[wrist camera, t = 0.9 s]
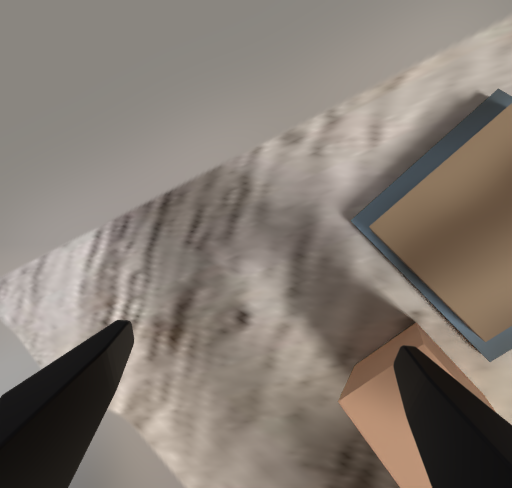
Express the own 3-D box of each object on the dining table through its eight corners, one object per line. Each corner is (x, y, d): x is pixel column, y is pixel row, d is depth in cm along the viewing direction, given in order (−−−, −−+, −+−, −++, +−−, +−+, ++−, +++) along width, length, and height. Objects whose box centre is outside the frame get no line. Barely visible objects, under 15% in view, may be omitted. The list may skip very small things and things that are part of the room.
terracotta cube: (484, 395, 16) (526, 456, 11) (410, 437, 18) (416, 509, 12) (416, 322, 18) (423, 343, 13) (354, 365, 19) (338, 401, 14)
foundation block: (703, 225, 13) (780, 213, 10) (485, 358, 16) (503, 375, 13) (494, 96, 17) (511, 63, 14) (352, 222, 20) (345, 214, 17)
